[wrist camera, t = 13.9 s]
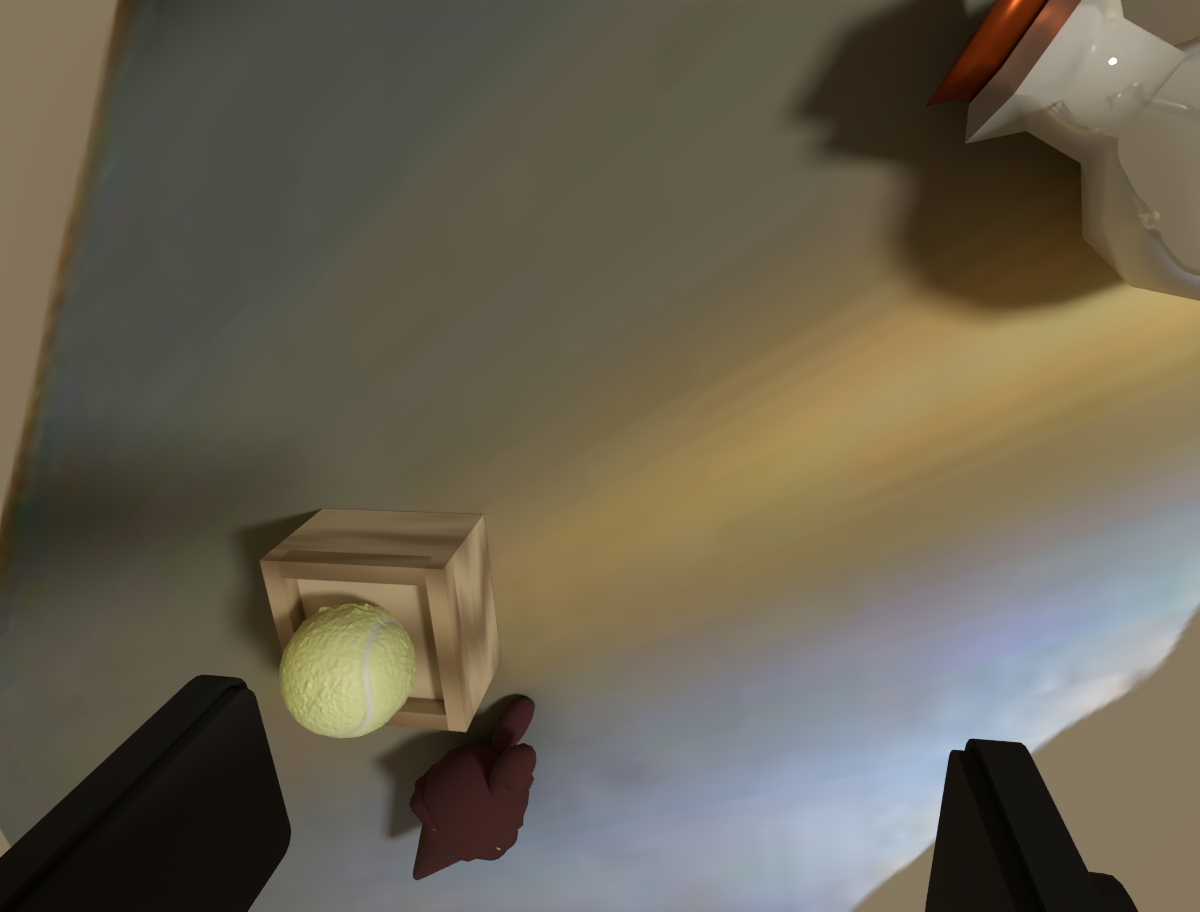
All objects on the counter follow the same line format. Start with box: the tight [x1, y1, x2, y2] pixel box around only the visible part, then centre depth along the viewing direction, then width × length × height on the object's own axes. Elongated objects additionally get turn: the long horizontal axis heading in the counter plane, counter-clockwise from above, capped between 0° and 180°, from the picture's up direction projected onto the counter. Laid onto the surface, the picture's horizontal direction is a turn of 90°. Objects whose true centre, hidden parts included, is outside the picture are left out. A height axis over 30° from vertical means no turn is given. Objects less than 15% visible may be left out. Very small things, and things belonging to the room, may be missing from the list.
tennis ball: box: [279, 603, 417, 738], centre depth 37 cm, size 6×7×7 cm
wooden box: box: [259, 509, 501, 732], centre depth 41 cm, size 10×10×6 cm
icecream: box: [409, 697, 536, 880], centre depth 45 cm, size 7×7×15 cm
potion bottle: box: [926, 0, 1200, 301], centre depth 26 cm, size 9×10×15 cm
